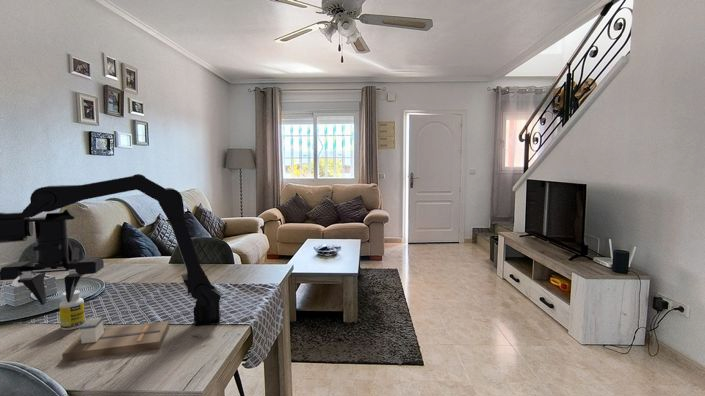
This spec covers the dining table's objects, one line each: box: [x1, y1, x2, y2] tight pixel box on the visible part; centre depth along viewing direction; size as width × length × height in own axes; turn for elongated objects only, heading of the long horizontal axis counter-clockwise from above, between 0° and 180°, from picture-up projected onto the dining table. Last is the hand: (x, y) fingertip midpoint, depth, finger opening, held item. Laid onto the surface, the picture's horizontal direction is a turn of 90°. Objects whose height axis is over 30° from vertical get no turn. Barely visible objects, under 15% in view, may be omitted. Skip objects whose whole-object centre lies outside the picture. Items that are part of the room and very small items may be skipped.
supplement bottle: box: [58, 289, 86, 331], centre depth 100 cm, size 5×5×10 cm
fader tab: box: [79, 316, 104, 344], centre depth 88 cm, size 3×5×4 cm, turn 17°
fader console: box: [61, 320, 170, 363], centre depth 91 cm, size 20×12×2 cm, turn 107°
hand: (56, 303), depth 86 cm, fingers open, 5 cm apart
